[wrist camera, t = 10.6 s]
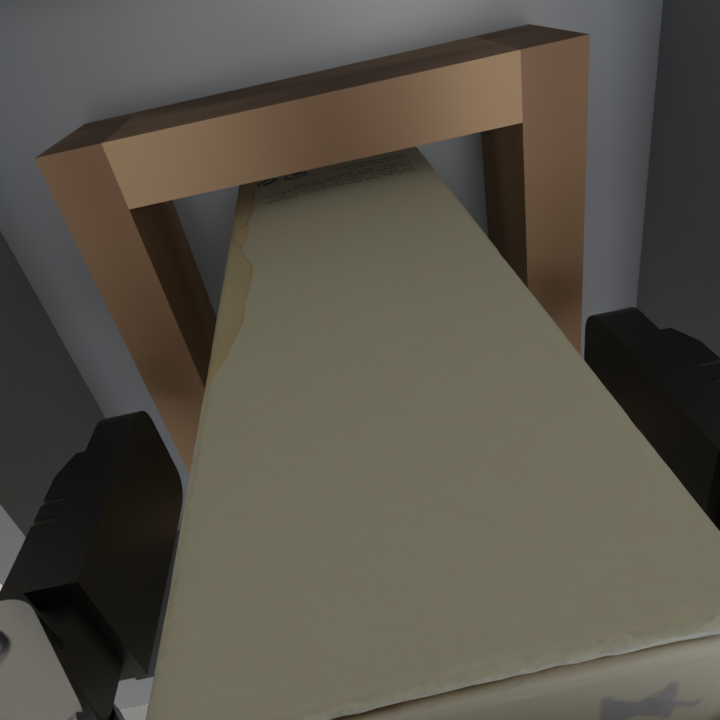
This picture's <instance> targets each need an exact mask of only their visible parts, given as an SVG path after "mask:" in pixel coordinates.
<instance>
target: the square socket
mask: <svg viewBox="0 0 720 720" xmlns="http://www.w3.org/2000/svg"><path fill="white" fill-rule="evenodd" d="M589 41H590V34H585V33H579V32H574V31H568V30H562V29H556V28H550V27H544V26H538V25H532V24H527V25H523V26H518V27H514V28H510V29H505V30H501V31H496V32H492V33H487V34H483V35H478V36H474V37H469V38H465V39H460V40H456V41H452V42H447V43H443V44H438V45H434V46H429V47H425V48H420V49H416V50H411V51H407V52H402V53H398V54H394V55H389V56H385V57H380V58H376V59H371V60H367V61H362V62H358V63H353V64H349V65H344V66H340V67H336V68H331V69H327V70H322V71H318V72H313V73H309V74H304V75H300V76H295V77H291V78H286V79H282V80H278V81H273V82H269V83H264V84H260V85H255V86H251V87H246V88H242V89H237V90H233V91H228V92H224V93H220V94H215V95H211V96H206V97H202V98H197V99H193V100H188V101H184V102H179V103H175V104H170V105H166V106H161V107H157V108H153V109H148V110H144V111H139V112H135V113H130V114H126V115H121V116H117V117H112V118H108V119H103V120H99V121H95V122H90V123H86V124H84V125H83V126H81V127H80V128H78V129H77V130H75V131H74V132H72V133H71V134H69V135H68V136H66V137H65V138H63V139H62V140H60V141H59V142H58V143H56V144H55V145H53V146H52V147H50V148H49V149H47V150H46V151H44V152H43V153H41V154H40V155H38V156H37V157H35V158H34V159H35V161H36V163H37V165H38V167H39V169H40V171H41V173H42V175H43V177H44V179H45V181H46V183H47V185H48V187H49V189H50V191H51V193H52V195H53V197H54V199H55V201H56V203H57V205H58V207H59V210H60V212H61V214H62V216H63V218H64V220H65V222H66V224H67V226H68V228H69V230H70V232H71V234H72V236H73V238H74V240H75V242H76V244H77V246H78V248H79V250H80V252H81V254H82V256H83V258H84V261H85V263H86V265H87V267H88V269H89V271H90V273H91V275H92V277H93V279H94V281H95V283H96V285H97V287H98V289H99V291H100V293H101V295H102V297H103V299H104V301H105V303H106V305H107V307H108V309H109V312H110V314H111V316H112V318H113V320H114V322H115V324H116V326H117V328H118V330H119V332H120V334H121V336H122V338H123V340H124V342H125V344H126V346H127V348H128V350H129V352H130V354H131V356H132V358H133V360H134V363H135V365H136V367H137V369H138V371H139V373H140V375H141V377H142V379H143V381H144V383H145V385H146V387H147V389H148V391H149V393H150V395H151V397H152V399H153V401H154V403H155V405H156V407H157V409H158V411H159V414H160V416H161V418H162V420H163V422H164V424H165V426H166V428H167V430H168V432H169V434H170V436H171V438H172V440H173V442H174V444H175V446H176V448H177V450H178V452H179V454H180V456H181V458H182V460H183V462H184V465H185V467H186V469H187V471H188V473H189V475H190V471H191V465H192V459H193V453H194V448H195V442H196V437H197V432H198V426H199V420H200V414H201V408H202V402H203V397H204V392H205V387H206V381H207V376H208V369H209V363H210V358H211V352H212V345H213V340H214V334H215V327H216V321H217V318H216V315H215V313H214V310H213V307H212V305H211V302H210V299H209V297H208V294H207V291H206V289H205V286H204V283H203V281H202V278H201V275H200V273H199V270H198V267H197V265H196V262H195V259H194V257H193V254H192V251H191V249H190V246H189V243H188V241H187V238H186V235H185V233H184V230H183V227H182V225H181V222H180V219H179V217H178V214H177V211H176V209H175V206H174V203H173V201H172V200H174V199H179V198H183V197H188V196H192V195H197V194H202V193H206V192H211V191H215V190H220V189H224V188H229V187H233V186H238V185H242V184H247V183H251V182H256V181H260V180H265V179H269V178H274V177H279V176H283V175H288V174H292V173H297V172H301V171H306V170H310V169H315V168H319V167H324V166H328V165H333V164H337V163H342V162H347V161H351V160H356V159H360V158H365V157H369V156H374V155H378V154H383V153H387V152H392V151H396V150H401V149H405V148H410V147H414V146H419V145H424V144H428V143H433V142H437V141H442V140H446V139H451V138H455V137H460V136H464V135H469V134H473V133H478V132H481V139H482V154H483V168H484V183H485V197H486V212H487V226H488V239H489V240H490V241H491V242H492V243H493V245H494V246H495V247H496V248H497V250H498V252H499V253H500V255H501V256H502V257H503V258H504V259H505V261H506V262H507V263H508V264H509V265H510V267H511V268H512V269H513V270H514V272H515V273H516V274H517V275H518V277H519V278H520V279H521V281H522V282H523V283H524V284H525V286H526V287H527V288H528V289H529V291H530V292H531V293H532V294H533V296H534V297H535V298H536V299H537V301H538V302H539V303H540V304H541V306H542V307H543V308H544V309H545V311H546V312H547V313H548V314H549V316H550V317H551V318H552V320H553V321H554V322H555V323H556V324H557V326H558V327H559V328H560V330H561V331H562V332H563V334H564V335H565V336H566V338H567V339H568V340H569V341H570V343H571V344H572V345H573V347H574V348H575V349H576V351H577V352H578V353H579V354H580V356H581V325H582V289H583V254H584V218H585V183H586V147H587V112H588V76H589Z"/></svg>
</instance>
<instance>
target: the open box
mask: <svg viewBox="0 0 720 720" xmlns="http://www.w3.org/2000/svg"><path fill="white" fill-rule="evenodd" d="M527 24H532V25H538V26H544V27H550V28H556V29H562V30H568V31H574V32H579V33H585V34H590V41H589V76H588V112H587V147H586V183H585V218H584V254H583V289H582V325H581V357H582V358H583V360H584V346H585V325H586V321H587V319H588V317H589V316H592V315H596V314H601V313H605V312H610V311H615V310H619V309H624V308H629V307H635V308H637V309H639V310H640V311H641V312H642V313H643V314H644V315H645V316H646V317H647V318H648V319H649V320H650V321H652V322H653V323H654V324H655V325H656V326H657V327H658V328H659V329H660V330H661V329H666V328H673V329H675V330H677V331H679V332H682V333H684V334H686V335H689V336H691V337H693V338H695V339H698V340H700V341H701V342H702V343H703V344H705V345H706V346H707V347H708V348H709V349H710V350H711V351H713V352H714V353H715V354H716V355H717V356H718V357H719V358H720V0H0V583H1V584H2V585H4V583H5V581H6V578H7V576H8V574H9V572H10V570H11V568H12V566H13V564H14V562H15V559H16V557H17V555H18V553H19V551H20V549H21V547H22V545H23V543H24V541H25V538H26V536H27V534H28V532H29V530H30V528H31V526H34V525H35V523H34V519H35V517H36V515H37V513H38V511H39V509H40V507H41V505H44V498H45V496H46V494H47V492H48V490H49V488H50V486H51V484H52V482H53V479H54V477H55V476H56V475H57V474H58V473H59V471H60V470H61V469H62V468H63V467H64V466H65V465H66V464H67V463H68V462H69V461H70V459H71V458H72V457H73V456H74V455H75V454H76V453H79V452H84V451H85V450H86V448H87V445H88V443H89V441H90V439H91V436H92V434H93V432H94V429H95V427H96V425H97V423H98V422H99V421H100V420H102V419H105V418H110V417H115V416H119V415H124V414H129V413H133V412H138V411H145V412H147V413H148V414H149V416H150V417H151V419H152V420H153V422H154V424H155V426H156V428H157V430H158V432H159V434H160V436H161V438H162V440H163V442H164V444H165V446H166V448H167V450H168V452H169V454H170V456H171V458H172V460H173V462H174V464H175V466H176V468H177V470H178V472H179V475H180V479H181V483H182V489H183V503H182V509H181V514H180V519H179V523H178V528H177V533H176V538H175V543H174V548H173V553H172V558H171V562H170V567H169V572H168V577H167V582H166V587H165V592H164V597H163V601H162V606H161V611H160V616H159V621H158V626H157V631H156V635H155V640H154V645H153V650H152V655H151V660H150V665H149V670H148V674H147V675H146V676H141V677H136V678H131V679H126V680H122V681H119V684H118V688H117V692H116V696H115V700H114V704H115V705H116V706H117V708H118V709H124V708H129V707H134V706H139V705H144V704H149V700H150V694H151V689H152V684H153V678H154V673H155V668H156V662H157V657H158V652H159V646H160V641H161V635H162V630H163V625H164V619H165V614H166V609H167V604H168V599H169V594H170V588H171V582H172V575H173V568H174V563H175V557H176V552H177V546H178V540H179V535H180V529H181V524H182V518H183V513H184V507H185V501H186V495H187V489H188V483H189V477H190V475H189V473H188V471H187V469H186V467H185V465H184V462H183V460H182V458H181V456H180V454H179V452H178V450H177V448H176V446H175V444H174V442H173V440H172V438H171V436H170V434H169V432H168V430H167V428H166V426H165V424H164V422H163V420H162V418H161V416H160V414H159V411H158V409H157V407H156V405H155V403H154V401H153V399H152V397H151V395H150V393H149V391H148V389H147V387H146V385H145V383H144V381H143V379H142V377H141V375H140V373H139V371H138V369H137V367H136V365H135V363H134V360H133V358H132V356H131V354H130V352H129V350H128V348H127V346H126V344H125V342H124V340H123V338H122V336H121V334H120V332H119V330H118V328H117V326H116V324H115V322H114V320H113V318H112V316H111V314H110V312H109V309H108V307H107V305H106V303H105V301H104V299H103V297H102V295H101V293H100V291H99V289H98V287H97V285H96V283H95V281H94V279H93V277H92V275H91V273H90V271H89V269H88V267H87V265H86V263H85V261H84V258H83V256H82V254H81V252H80V250H79V248H78V246H77V244H76V242H75V240H74V238H73V236H72V234H71V232H70V230H69V228H68V226H67V224H66V222H65V220H64V218H63V216H62V214H61V212H60V210H59V207H58V205H57V203H56V201H55V199H54V197H53V195H52V193H51V191H50V189H49V187H48V185H47V183H46V181H45V179H44V177H43V175H42V173H41V171H40V169H39V167H38V165H37V163H36V161H35V159H34V158H35V157H37V156H38V155H40V154H41V153H43V152H44V151H46V150H47V149H49V148H50V147H52V146H53V145H55V144H56V143H58V142H59V141H60V140H62V139H63V138H65V137H66V136H68V135H69V134H71V133H72V132H74V131H75V130H77V129H78V128H80V127H81V126H83V125H84V124H86V123H90V122H95V121H99V120H103V119H108V118H112V117H117V116H121V115H126V114H130V113H135V112H139V111H144V110H148V109H153V108H157V107H161V106H166V105H170V104H175V103H179V102H184V101H188V100H193V99H197V98H202V97H206V96H211V95H215V94H220V93H224V92H228V91H233V90H237V89H242V88H246V87H251V86H255V85H260V84H264V83H269V82H273V81H278V80H282V79H286V78H291V77H295V76H300V75H304V74H309V73H313V72H318V71H322V70H327V69H331V68H336V67H340V66H344V65H349V64H353V63H358V62H362V61H367V60H371V59H376V58H380V57H385V56H389V55H394V54H398V53H402V52H407V51H411V50H416V49H420V48H425V47H429V46H434V45H438V44H443V43H447V42H452V41H456V40H460V39H465V38H469V37H474V36H478V35H483V34H487V33H492V32H496V31H501V30H505V29H510V28H514V27H518V26H523V25H527ZM416 147H417V148H418V149H419V151H420V152H421V153H422V154H423V155H424V157H425V158H426V159H427V161H428V162H429V163H430V164H431V166H432V167H433V168H434V170H435V171H436V172H437V173H438V175H439V176H440V177H441V178H442V180H443V181H444V182H445V184H446V185H447V186H448V188H449V189H450V190H451V191H452V192H453V194H454V195H455V196H456V198H457V199H458V200H459V201H460V202H461V204H462V205H463V206H464V208H465V209H466V210H467V211H468V213H469V214H470V215H471V216H472V218H473V219H474V221H475V222H476V223H477V224H478V225H479V227H480V228H481V229H482V230H483V232H484V233H485V234H486V236H487V237H488V226H487V212H486V197H485V183H484V168H483V154H482V139H481V132H478V133H473V134H469V135H464V136H460V137H455V138H451V139H446V140H442V141H437V142H433V143H428V144H424V145H419V146H416ZM239 186H240V185H238V186H233V187H229V188H224V189H220V190H215V191H211V192H206V193H202V194H197V195H192V196H188V197H183V198H179V199H174V200H172V201H173V203H174V206H175V209H176V211H177V214H178V217H179V219H180V222H181V225H182V227H183V230H184V233H185V235H186V238H187V241H188V243H189V246H190V249H191V251H192V254H193V257H194V259H195V262H196V265H197V267H198V270H199V273H200V275H201V278H202V281H203V283H204V286H205V289H206V291H207V294H208V297H209V299H210V302H211V305H212V307H213V310H214V313H215V315H216V318H217V316H218V311H219V305H220V299H221V293H222V288H223V282H224V276H225V270H226V264H227V258H228V251H229V245H230V239H231V233H232V227H233V222H234V216H235V209H236V203H237V197H238V191H239Z"/></svg>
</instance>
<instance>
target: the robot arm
mask: <svg viewBox="0 0 720 720" xmlns="http://www.w3.org/2000/svg"><path fill="white" fill-rule="evenodd" d="M584 361H585V362H586V363H587V364H588V366H589V367H590V368H591V369H592V371H593V372H594V373H595V375H596V376H597V377H598V378H599V380H600V381H601V382H602V384H603V385H604V386H605V387H606V389H607V390H608V391H609V392H610V394H611V395H612V396H613V397H614V399H615V400H616V401H617V402H618V404H619V405H620V406H621V407H622V409H623V410H624V411H625V413H626V414H627V415H628V417H629V418H630V420H631V421H632V422H633V424H634V425H635V426H636V427H637V429H638V430H639V431H640V432H641V433H642V434H643V435H644V437H645V438H646V439H647V440H648V442H649V443H650V444H651V446H652V447H653V448H654V449H655V451H656V452H657V453H658V454H659V456H660V457H661V458H662V459H663V461H664V462H665V463H666V464H667V466H668V467H669V468H670V469H671V471H672V472H673V473H674V474H675V476H676V477H677V478H678V479H679V481H680V482H681V483H682V485H683V486H684V487H685V488H686V490H687V491H688V492H689V493H690V495H691V496H692V497H693V498H694V500H695V501H696V502H697V503H698V505H699V506H700V507H701V509H702V510H703V511H704V512H705V514H706V515H707V516H708V517H709V519H710V520H711V521H712V522H713V524H714V525H715V526H716V527H717V529H718V530H719V531H720V358H719V357H718V356H717V355H716V354H715V353H714V352H713V351H711V350H710V349H709V348H708V347H707V346H706V345H705V344H703V343H702V342H701V341H700V340H698V339H695V338H693V337H691V336H689V335H686V334H684V333H682V332H679V331H677V330H675V329H673V328H666V329H661V330H660V329H659V328H658V327H657V326H656V325H655V324H654V323H653V322H652V321H650V320H649V319H648V318H647V317H646V316H645V315H644V314H643V313H642V312H641V311H640V310H639V309H637V308H635V307H629V308H624V309H619V310H615V311H610V312H605V313H601V314H596V315H592V316H589V317H588V319H587V321H586V325H585V346H584ZM182 503H183V489H182V483H181V479H180V475H179V472H178V470H177V468H176V466H175V464H174V462H173V460H172V458H171V456H170V454H169V452H168V450H167V448H166V446H165V444H164V442H163V440H162V438H161V436H160V434H159V432H158V430H157V428H156V426H155V424H154V422H153V420H152V419H151V417H150V416H149V414H148V413H147V412H145V411H138V412H133V413H129V414H124V415H119V416H115V417H110V418H105V419H102V420H100V421H99V422H98V423H97V425H96V427H95V429H94V432H93V434H92V436H91V439H90V441H89V443H88V445H87V448H86V450H85V451H84V452H79V453H76V454H75V455H74V456H73V457H72V458H71V459H70V461H69V462H68V463H67V464H66V465H65V466H64V467H63V468H62V469H61V470H60V471H59V473H58V474H57V475H56V476H55V477H54V479H53V482H52V484H51V486H50V488H49V490H48V492H47V494H46V496H45V498H44V505H41V507H40V509H39V511H38V513H37V515H36V517H35V519H34V523H35V525H34V526H31V528H30V530H29V532H28V534H27V536H26V538H25V541H24V543H23V545H22V547H21V549H20V551H19V553H18V555H17V557H16V559H15V562H14V564H13V566H12V568H11V570H10V572H9V574H8V576H7V578H6V581H5V583H4V585H3V587H2V589H1V591H0V720H125V719H124V717H123V716H122V714H121V712H120V711H119V709H118V708H117V706H116V705H115V704H114V700H115V696H116V692H117V688H118V684H119V681H122V680H126V679H131V678H136V677H141V676H146V675H147V674H148V670H149V665H150V660H151V655H152V650H153V645H154V640H155V635H156V631H157V626H158V621H159V616H160V611H161V606H162V601H163V597H164V592H165V587H166V582H167V577H168V572H169V567H170V562H171V558H172V553H173V548H174V543H175V538H176V533H177V528H178V523H179V519H180V514H181V509H182Z"/></svg>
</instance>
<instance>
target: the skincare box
mask: <svg viewBox="0 0 720 720" xmlns="http://www.w3.org/2000/svg"><path fill="white" fill-rule="evenodd" d="M146 720H720V531H719V530H718V529H717V527H716V526H715V525H714V524H713V522H712V521H711V520H710V519H709V517H708V516H707V515H706V514H705V512H704V511H703V510H702V509H701V507H700V506H699V505H698V503H697V502H696V501H695V500H694V498H693V497H692V496H691V495H690V493H689V492H688V491H687V490H686V488H685V487H684V486H683V485H682V483H681V482H680V481H679V479H678V478H677V477H676V476H675V474H674V473H673V472H672V471H671V469H670V468H669V467H668V466H667V464H666V463H665V462H664V461H663V459H662V458H661V457H660V456H659V454H658V453H657V452H656V451H655V449H654V448H653V447H652V446H651V444H650V443H649V442H648V440H647V439H646V438H645V437H644V435H643V434H642V433H641V432H640V431H639V430H638V429H637V427H636V426H635V425H634V424H633V422H632V421H631V420H630V418H629V417H628V415H627V414H626V413H625V411H624V410H623V409H622V407H621V406H620V405H619V404H618V402H617V401H616V400H615V399H614V397H613V396H612V395H611V394H610V392H609V391H608V390H607V389H606V387H605V386H604V385H603V384H602V382H601V381H600V380H599V378H598V377H597V376H596V375H595V373H594V372H593V371H592V369H591V368H590V367H589V366H588V364H587V363H586V362H585V361H584V360H583V358H582V357H581V356H580V354H579V353H578V352H577V351H576V349H575V348H574V347H573V345H572V344H571V343H570V341H569V340H568V339H567V338H566V336H565V335H564V334H563V332H562V331H561V330H560V328H559V327H558V326H557V324H556V323H555V322H554V321H553V320H552V318H551V317H550V316H549V314H548V313H547V312H546V311H545V309H544V308H543V307H542V306H541V304H540V303H539V302H538V301H537V299H536V298H535V297H534V296H533V294H532V293H531V292H530V291H529V289H528V288H527V287H526V286H525V284H524V283H523V282H522V281H521V279H520V278H519V277H518V275H517V274H516V273H515V272H514V270H513V269H512V268H511V267H510V265H509V264H508V263H507V262H506V261H505V259H504V258H503V257H502V256H501V255H500V253H499V252H498V250H497V248H496V247H495V246H494V245H493V243H492V242H491V241H490V240H489V239H488V237H487V236H486V234H485V233H484V232H483V230H482V229H481V228H480V227H479V225H478V224H477V223H476V222H475V221H474V219H473V218H472V216H471V215H470V214H469V213H468V211H467V210H466V209H465V208H464V206H463V205H462V204H461V202H460V201H459V200H458V199H457V198H456V196H455V195H454V194H453V192H452V191H451V190H450V189H449V188H448V186H447V185H446V184H445V182H444V181H443V180H442V178H441V177H440V176H439V175H438V173H437V172H436V171H435V170H434V168H433V167H432V166H431V164H430V163H429V162H428V161H427V159H426V158H425V157H424V155H423V154H422V153H421V152H420V151H419V149H418V148H417V147H416V146H414V147H410V148H405V149H401V150H396V151H392V152H387V153H383V154H378V155H374V156H369V157H365V158H360V159H356V160H351V161H347V162H342V163H337V164H333V165H328V166H324V167H319V168H315V169H310V170H306V171H301V172H297V173H292V174H288V175H283V176H279V177H274V178H269V179H265V180H260V181H256V182H251V183H247V184H242V185H240V186H239V191H238V197H237V203H236V209H235V216H234V222H233V227H232V233H231V239H230V245H229V251H228V258H227V264H226V270H225V276H224V282H223V288H222V293H221V299H220V305H219V311H218V316H217V321H216V327H215V334H214V340H213V345H212V352H211V358H210V363H209V369H208V376H207V381H206V387H205V392H204V397H203V402H202V408H201V414H200V420H199V426H198V432H197V437H196V442H195V448H194V453H193V459H192V465H191V471H190V477H189V483H188V489H187V495H186V501H185V507H184V513H183V518H182V524H181V529H180V535H179V540H178V546H177V552H176V557H175V563H174V568H173V575H172V582H171V588H170V594H169V599H168V604H167V609H166V614H165V619H164V625H163V630H162V635H161V641H160V646H159V652H158V657H157V662H156V668H155V673H154V678H153V684H152V689H151V694H150V700H149V705H148V710H147V716H146Z"/></svg>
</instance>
